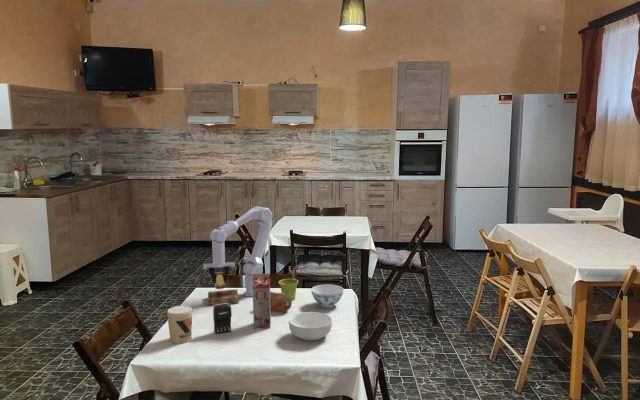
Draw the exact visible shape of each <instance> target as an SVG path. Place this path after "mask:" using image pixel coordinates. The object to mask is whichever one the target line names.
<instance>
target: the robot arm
mask: <svg viewBox="0 0 640 400" xmlns="http://www.w3.org/2000/svg"><path fill="white" fill-rule="evenodd" d="M272 218H273V213H272V210H271V209H270V208H268V207H262V206H259V205H256V206H254V207H253V208H250V209H249V210H248V211H246V213H244V214H242V215H241V216H240V217H238V218H237V219H236V220H228V221H226V223H225V224H223V225H222V226H218V228H215V229H212V230H211V232H210V234H209V238H210V240H211V244H212V245H211V248H212V249H211V250H212V262H210V263H203V267H202V269H203V270H208V272H209V274H210V276H211V278H212V281H213V285H215V269H220V268H223V269H224V270H223V272H224V282H225V284H226V283H227V279H228V275H229V272H230V270H231V268H235V267H236V264H235V261H226V250H225V249H226V247H225V245H226V244H225V241H227V238H228V237H230V236H231V235H233V234H234V233H236V232H237V231H238V230H239V227H241V226H243V225H245V224H246V223H248V222H249V221H251V220H252V221H253V220H256V221H257V223H258V224H259V226H260V227H259V231H258V232H257V233H258V234H257V236H256V239H255V243H254V246H253V249H252V252H251V255H250V256H249V257H248V258H247V260H246V262H245V263H244V265H243V266H242V271H243V273H245V291H244V294H245V297H248V298H249V297H253V285H252V284H253V274H263V272H264V271H263V267H264V263H263V260H262V258H263V255H264V254H265V253H264V252H265V249H266V246H267V243H268V240H269V236H270V234H271V231H272V227H273V220H272Z"/></svg>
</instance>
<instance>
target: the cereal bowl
mask: <svg viewBox="0 0 640 400" xmlns="http://www.w3.org/2000/svg"><path fill="white" fill-rule="evenodd" d="M332 325H333V320H332V317H331V316H330V315H328V314H326V313H322V312H318V311H317V312H316V311H305V312H304V311H303V312H298V313H296V314H293V315H292V316H290V318H289V319H288V327H289V330H290V332H291V333H292V334H293V336H295V337H297V338H300V339H302V340H303V341H307V342H308V341H311V342H313V341H317V340H319V339H322V338H324V337H325V336H327V335H328V334H329V333H330V332H331V330H332Z"/></svg>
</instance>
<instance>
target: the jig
mask: <svg viewBox="0 0 640 400" xmlns="http://www.w3.org/2000/svg"><path fill="white" fill-rule="evenodd" d="M239 299H240V298H239V292H238V289H226V290H213V291H208V292H207V306H208V307H210V306H213V307H214V306H215V305H216V304H222V303H228V304H229V305H233V304H234V305H235V303H236V304H239V303H240V302H239Z"/></svg>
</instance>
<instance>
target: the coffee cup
mask: <svg viewBox="0 0 640 400" xmlns="http://www.w3.org/2000/svg"><path fill="white" fill-rule="evenodd" d="M166 315H167V323H168V331H169V333H168V334H169V338H170V342H171V343H172V344H176V345H179V344H181V345H182V344H185V343H188V342H189V341H191V340H192V337H193V336H192V335H193V334H192V332H193V330H192V328H193V308H192V306H188V305H175V306H173V307H170V308H168V309H167V312H166Z"/></svg>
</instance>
